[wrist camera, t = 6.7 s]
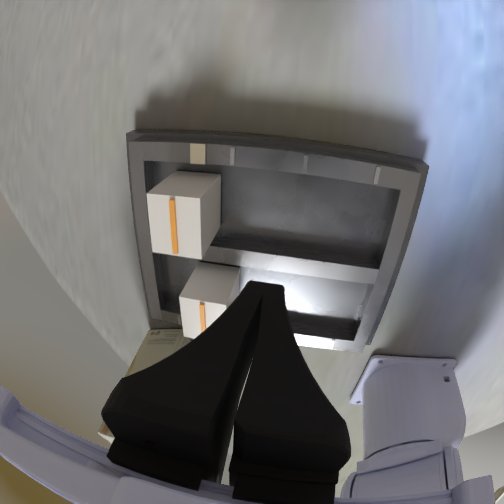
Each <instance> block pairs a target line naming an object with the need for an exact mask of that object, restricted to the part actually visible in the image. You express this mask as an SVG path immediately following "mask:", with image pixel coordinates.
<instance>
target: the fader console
mask: <svg viewBox="0 0 504 504" xmlns="http://www.w3.org/2000/svg"><path fill="white" fill-rule="evenodd" d="M126 141H127V157H128V170H129V181H130V191H131V201H132V210H133V218H134V226H135V234H136V241H137V248H138V254H139V261H140V267H141V273H142V279H143V285H144V290H145V295H146V301H147V306H148V310H150V313H151V318H152V319H156V320H160V321H165V322H169V323H174V324H179V325H182V318H181V310H180V301H179V296H180V294H181V292H182V290H183V289H184V287H185V285H186V283H187V281H188V280H189V278H190V276H191V274H192V273H193V271H194V269H195V267H196V266H197V264H198V262H204V263H210V264H217V265H223V266H230V267H237V268H240V280H239V294H240V292H241V291H242V290H243V288H244V287H245V285H246V284H247V282H248V281H250V280H253V281H259V282H266V283H272V284H279V285H283V286H284V288H285V302H286V307H287V312H288V316H289V320H290V323H291V327H292V330H293V333H294V336H295V338H296V341H297V344H298V345H301V346H308V347H316V348H324V349H333V350H342V351H352V352H362V351H363V349H364V346H365V345H370V344H371V342H372V339H373V337H374V335H375V332H376V330H377V328H378V325H379V323H380V320H381V318H382V316H383V313H384V311H385V308H386V305H387V303H388V300H389V298H390V295H391V292H392V290H393V287H394V284H395V282H396V279H397V276H398V273H399V270H400V267H401V264H402V261H403V258H404V255H405V252H406V249H407V246H408V243H409V240H410V237H411V233H412V230H413V227H414V223H415V220H416V216H417V213H418V209H419V205H420V202H421V198H422V194H423V190H424V186H425V182H426V178H427V174H428V169H429V166H428V165H427V164H426V163H425V162H424V161H422V160H417V159H413V158H409V157H404V156H399V155H395V154H390V153H385V152H380V151H375V150H369V149H364V148H358V147H353V146H347V145H341V144H334V143H328V142H321V141H314V140H306V139H298V138H290V137H281V136H271V135H261V134H249V133H236V132H220V131H199V130H133V131H131V132H128V133H126ZM174 171H187V172H200V173H213V174H221V213H220V228H219V230H218V232H217V234H216V235H215V237H214V239H213V240H212V242H211V244H210V246H209V247H208V249H207V251H206V253H205V254H204V256H203V258H202V260H201V259H195V258H188V257H182V256H175V255H169V254H162V253H156V252H153V251H152V243H151V234H150V225H149V215H148V205H147V193H148V192H149V191H150V190H151V189H153V188H154V187H155V186H156V185H158V184H159V183H160V182H161V181H163V180H164V179H165V178H167V177H168V176H169V175H170V174H172V173H173V172H174Z"/></svg>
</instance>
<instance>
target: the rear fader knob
mask: <svg viewBox="0 0 504 504" xmlns="http://www.w3.org/2000/svg"><path fill="white" fill-rule="evenodd" d="M239 280H240V268H237V267H230V266H223V265H217V264H210V263H204V262H198V264H197V266H196V267H195V269H194V271H193V273H192V274H191V276H190V278H189V280H188V281H187V283H186V285H185V287H184V289H183V290H182V292H181V294H180V296H179V301H180V310H181V318H182V326H183V334H184V337H189V338H193V339H194V338H196V337H197V336H198V335H200V334H201V333H202V332H203V331H204V330H205V329H207V328H208V327H209V326H210V325H211V324H212V323H213V322H214V321H215V320H216V319H217V318H218V317H219V316H220V315H221V314H222V313H223V312H224V311H225V310H226V309H227V308H228V307H229V305H230V304H231V303H232V302H233V301H234V300H235V299H236V297H237V296H238V295H239Z"/></svg>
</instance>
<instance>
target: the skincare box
mask: <svg viewBox="0 0 504 504" xmlns="http://www.w3.org/2000/svg"><path fill="white" fill-rule="evenodd" d="M189 342H191V339H190V338H189V337H184V334H183V329H160V330H149V331H148V333H147V335H146V337H145V339H144V340H143V342H142V344H141V346H140V348H139V350H138V352H137V354H136V356H135V358H134V360H133V362H132V364H131V366H130V368H129V370H128V371H127V373H126V375H125V377H127V376H129V375H131V374H134V373H136V372H138V371H141V370H143V369H145V368H147V367H150V366H152V365H153V364H155V363H157V362H159V361H161V360H162V359H164V358H166V357H168V356H170V355H171V354H173V353H175V352H176V351H178V350H179V349H181V348H182V347H183V346H185V345H186V344H188V343H189ZM98 433H99V434H100V435H101V436H102V437H103V438H104V439H106V440H107V441H108V442H109V443H110V444H112V442H113V440H114V438H115V437H114V436H113V434H112V433H111V431H110V430H109V428H108V427H107V425H106V424H105V422H104V420H103V422H102V424H101V427H100V428H99V430H98Z"/></svg>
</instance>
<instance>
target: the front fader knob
mask: <svg viewBox="0 0 504 504" xmlns="http://www.w3.org/2000/svg"><path fill="white" fill-rule="evenodd" d="M147 205H148V215H149V225H150V234H151V243H152V251H153V252H156V253H162V254H169V255H175V256H182V257H188V258H195V259H201V260H202V258H203V256H204V254H205V253H206V251H207V249H208V247H209V246H210V244H211V242H212V240H213V239H214V237H215V235H216V234H217V232H218V230H219V228H220V213H221V174H213V173H200V172H187V171H174V172H173V173H172V174H170V175H169V176H168V177H167V178H165V179H164V180H163V181H161V182H160V183H159V184H158V185H156V186H155V187H154V188H153V189H151V190H150V191H149V192H148V193H147Z"/></svg>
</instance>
